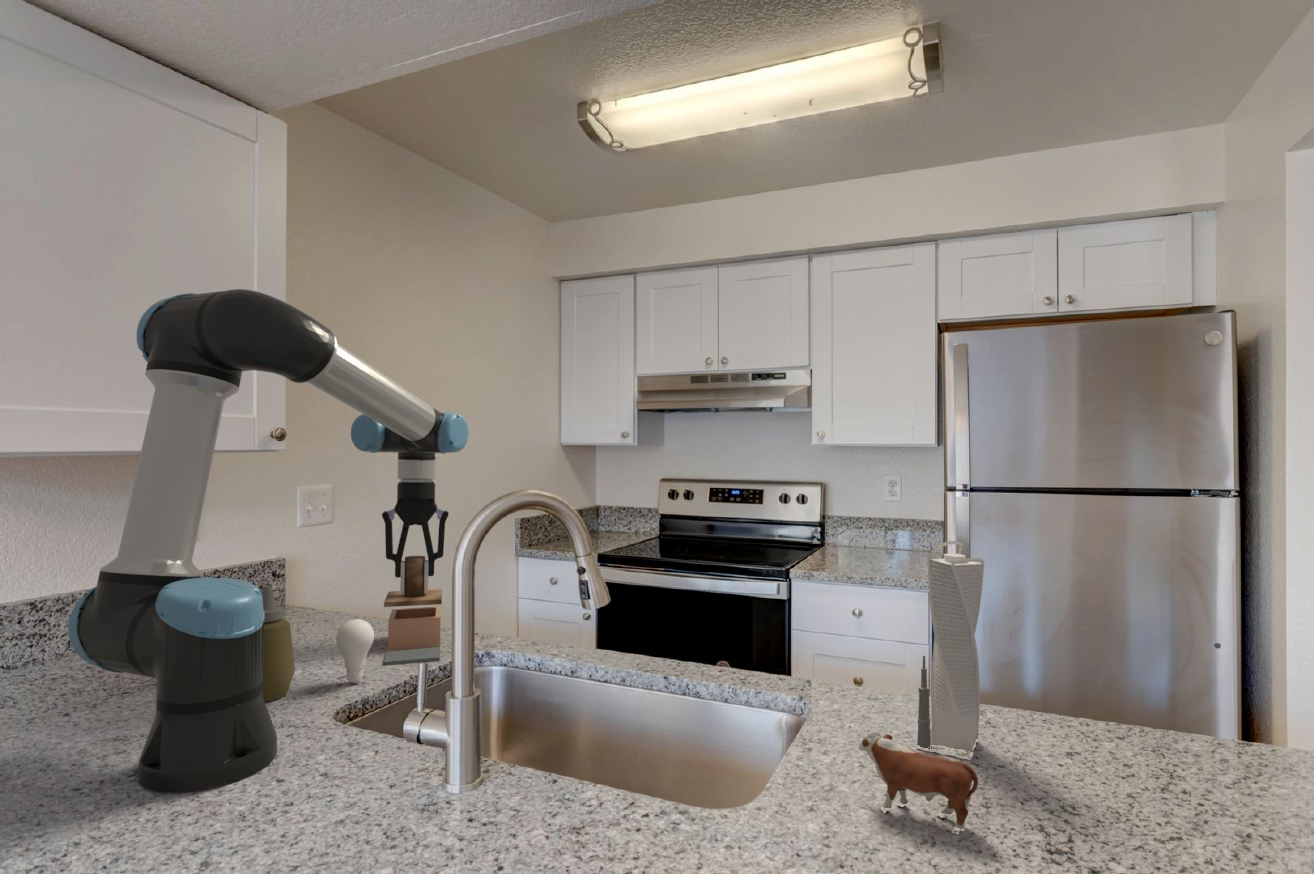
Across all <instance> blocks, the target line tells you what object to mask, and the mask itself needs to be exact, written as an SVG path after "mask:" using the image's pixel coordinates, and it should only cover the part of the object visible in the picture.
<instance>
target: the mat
mask: <svg viewBox="0 0 1314 874" xmlns="http://www.w3.org/2000/svg"><path fill="white" fill-rule="evenodd" d="M440 660H441V646H440V647H428V648H415V649H403V650H390V651H388V650H387V651H386V654H385V658H384V661H383V665H384V666H389V665H390V666H391V665H402V664H414V663H425V662H437V661H440ZM422 661H424V662H422Z"/></svg>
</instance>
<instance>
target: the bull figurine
mask: <svg viewBox="0 0 1314 874" xmlns="http://www.w3.org/2000/svg"><path fill="white" fill-rule="evenodd" d="M858 747H859V750H861V751H862V752H866V753H867V754H868V756H869V758H870V760H871V761H872V762H873V763H874V764H875V765H874V766H875V769H876V771H877V774H878V777H879V778H881V780H882V782H883V783H884V784H885V785H886V789H887V791H886V792H885V798H886V800H885V801H884V803H883V805H882V806H883V807H884V808H892V809H893V807H892V806H893V805H892V803H893V801H894V799H896V795H897V794H898V793H899V795H900V799H899V801H900V802H901V803H902V804H907V803H908V802H909V800H908V799H907V791H910V792H912V793H914V794H917V795H919V796H923V797H924V798H925V800H926V802H931V801H932V800H933V799H934V798H935V797H936V796H943V797H945V798H946V799H947V800H948V801H947V804H946V805H945V807H944V808H943V809H941V810H940V811H941V813H945V814H949V815H950V814H952V815H953V814H954V813H955V817H956V821H955V823H954V825H955V826H956V827H957V828H960V829H964V830H965V822H966V819H967V817H968V816H969V810H968V807H969V805H970V801H971V797H972V795H973V794H974V793H975V792H976V791H977V788H978V785H979V778H978V775H977V773H976V772H975V770H974V769H973V768H972V767H971V765H969V764H967V763H965V762H960V761H957V760H952V759H951V760H950V759H948V758H944V757H939V756H935V755H930V754H929V755H928V754H925V753H923V752H922V753H921V752H918V751H916V750H914V749H912V748H909V747H907V746H904V745H900V744H898V743H896V742H895V741H893V736H892V735H890V734H885V735H883V736H882V735H881V732H879V731H878V730H877V729H873V730H870V731H869V732H867V733H866V734H865V735H863V739H862V740H861V742H860V743H859V746H858ZM972 783H973V785H972ZM953 812H954V813H953Z"/></svg>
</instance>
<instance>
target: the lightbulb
mask: <svg viewBox="0 0 1314 874" xmlns="http://www.w3.org/2000/svg"><path fill="white" fill-rule="evenodd" d="M374 639H375V632H374V628H373V626H372V625H371V624H370V623H369V622H368V621H366V620H363V619H358V618H357V619H355V618H354V619H351V620H348V621H346V622H345V623H343V624H342V625H341V626H340V627H339V629H338V630H337V634H336V637H335V643H336V646H337V648H338V651H340V653H341V655H342V657H343V660H344V667H345V669H346V678H347V679H346V680H347V682H350V683H352V684H357V683H359V682H360V681H361V680H362V679H363V677H364V668H365V665H366V659H367V655H368V653H369V651H370V649H371V647H372V645H373V643H374Z"/></svg>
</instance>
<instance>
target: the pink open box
mask: <svg viewBox="0 0 1314 874" xmlns="http://www.w3.org/2000/svg"><path fill="white" fill-rule="evenodd" d="M441 617H442V606H423V607H409V608H408V607H407V608H394V609H391V612H390V615H389V618H388V624H387V626H388V630H387V631H388V633H387V634H388V635H387V641H388V642H387V643H388V644H387V646H388V647H387V651H396V650H409V649H422V648H435V647H440V648H441V637H442V636H441V635H442V633H441V631H442V625H441V624H442V619H441Z"/></svg>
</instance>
